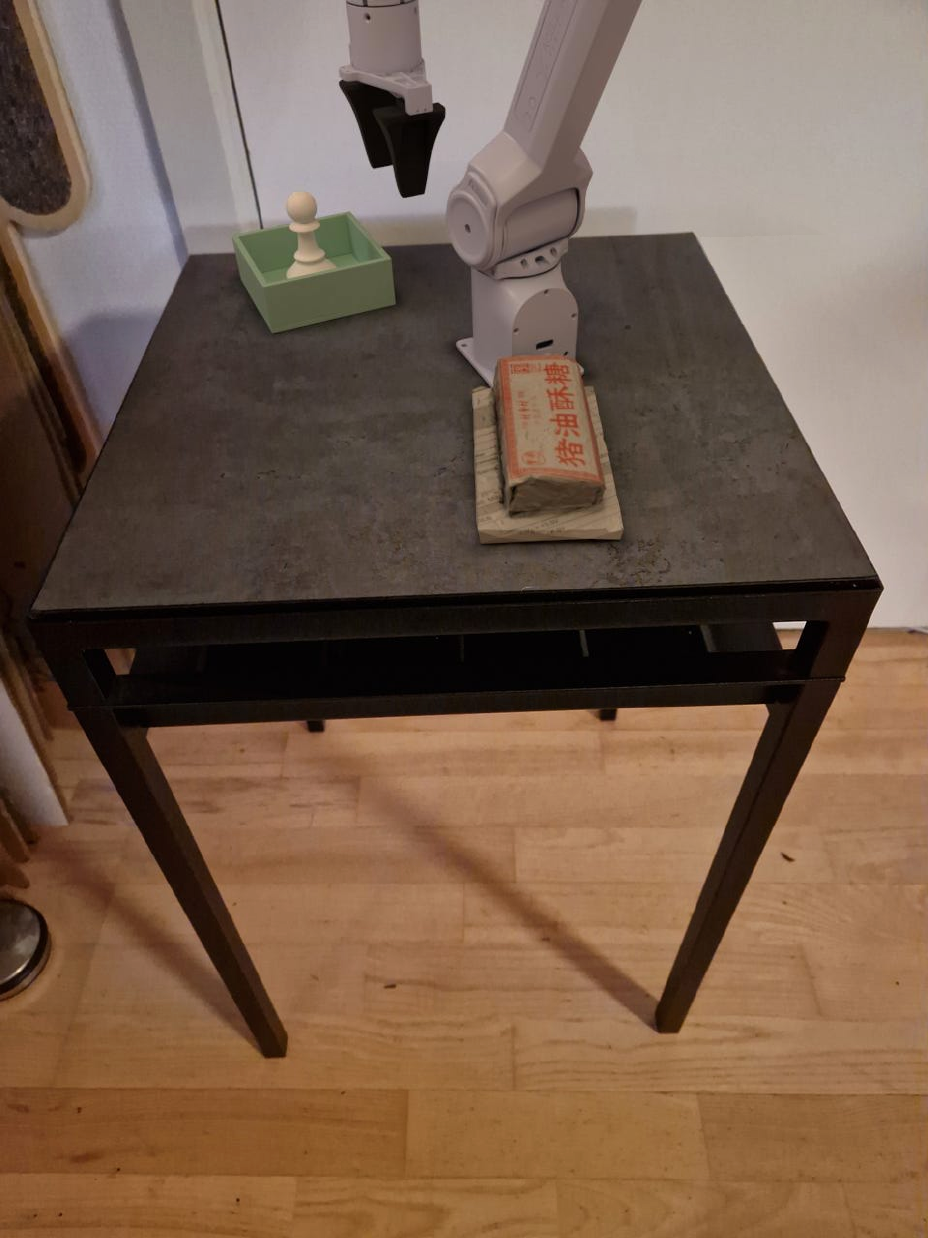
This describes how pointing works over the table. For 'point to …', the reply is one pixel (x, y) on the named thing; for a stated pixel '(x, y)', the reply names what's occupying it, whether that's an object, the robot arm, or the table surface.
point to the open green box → (320, 294)
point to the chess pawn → (305, 236)
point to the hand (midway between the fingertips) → (397, 179)
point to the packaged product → (541, 455)
